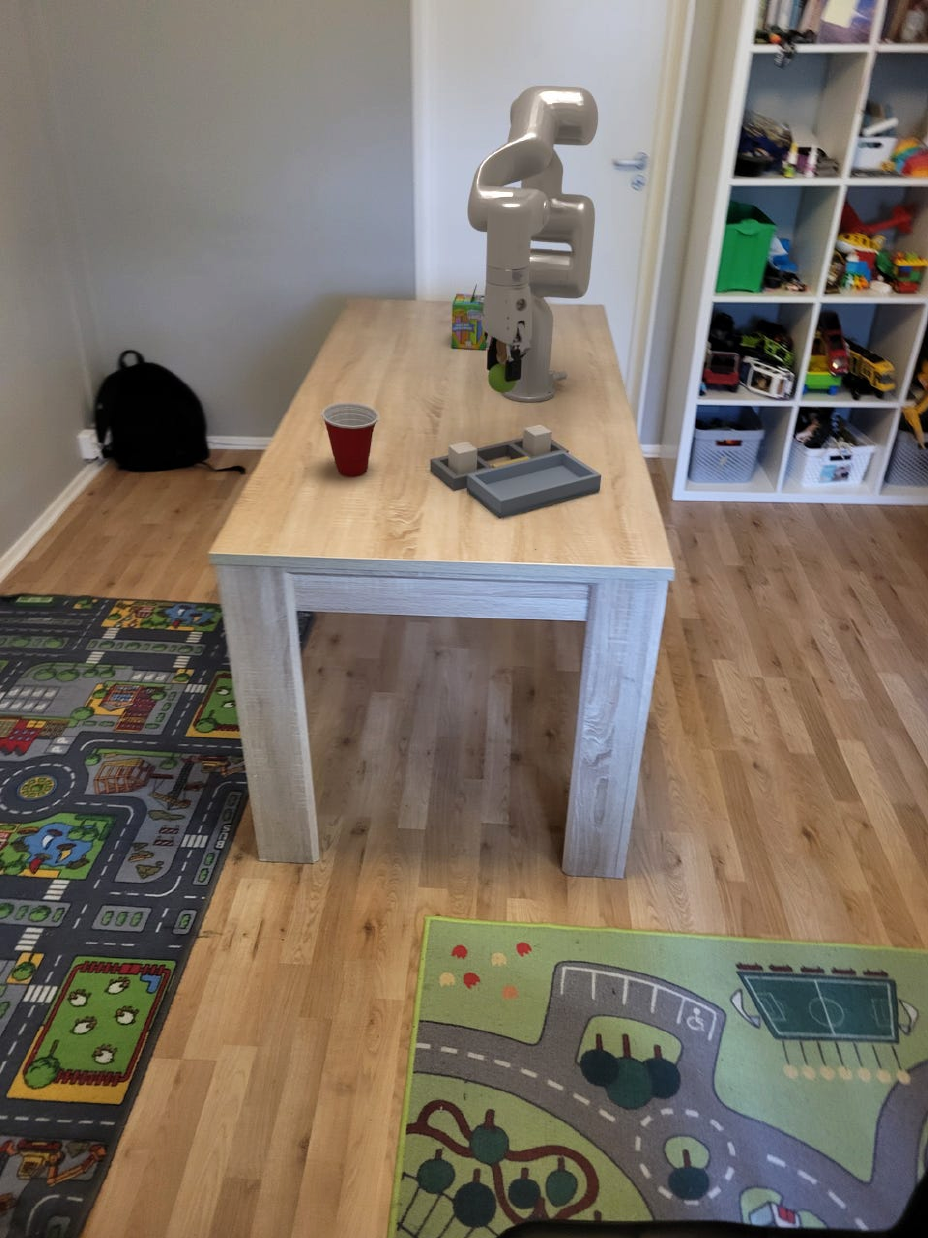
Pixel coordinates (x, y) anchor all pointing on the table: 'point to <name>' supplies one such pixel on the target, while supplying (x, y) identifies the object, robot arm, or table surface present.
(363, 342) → the table surface
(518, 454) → the rack
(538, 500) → the tray
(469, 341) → the chalk box
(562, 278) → the robot arm
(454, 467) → the block
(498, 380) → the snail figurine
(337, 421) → the plastic cup
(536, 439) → the block
